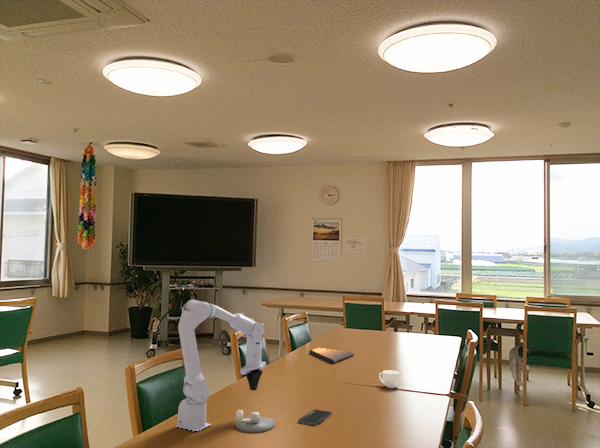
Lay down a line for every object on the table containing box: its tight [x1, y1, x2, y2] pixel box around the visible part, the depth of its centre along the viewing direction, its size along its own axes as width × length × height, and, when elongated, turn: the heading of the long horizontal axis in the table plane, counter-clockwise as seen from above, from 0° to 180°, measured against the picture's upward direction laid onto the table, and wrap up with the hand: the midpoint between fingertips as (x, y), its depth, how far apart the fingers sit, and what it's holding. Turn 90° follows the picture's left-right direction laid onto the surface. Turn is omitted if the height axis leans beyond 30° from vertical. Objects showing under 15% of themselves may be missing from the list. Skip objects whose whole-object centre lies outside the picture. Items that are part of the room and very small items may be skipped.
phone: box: [297, 409, 333, 426], centre depth 187 cm, size 8×1×15 cm
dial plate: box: [234, 415, 276, 433], centre depth 178 cm, size 14×14×1 cm
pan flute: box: [308, 346, 355, 365], centre depth 294 cm, size 25×3×25 cm
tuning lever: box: [235, 409, 260, 423], centre depth 179 cm, size 8×3×4 cm, turn 88°
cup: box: [378, 369, 401, 389], centre depth 233 cm, size 8×10×7 cm
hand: (253, 389), depth 190 cm, fingers closed
